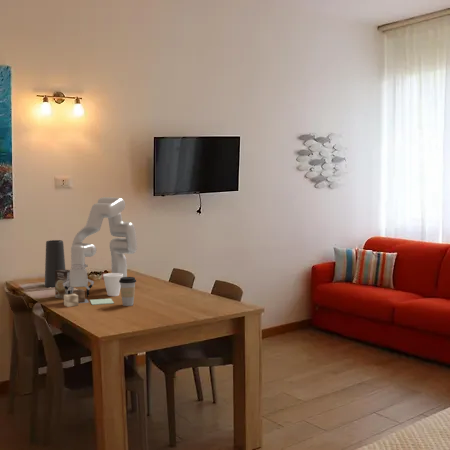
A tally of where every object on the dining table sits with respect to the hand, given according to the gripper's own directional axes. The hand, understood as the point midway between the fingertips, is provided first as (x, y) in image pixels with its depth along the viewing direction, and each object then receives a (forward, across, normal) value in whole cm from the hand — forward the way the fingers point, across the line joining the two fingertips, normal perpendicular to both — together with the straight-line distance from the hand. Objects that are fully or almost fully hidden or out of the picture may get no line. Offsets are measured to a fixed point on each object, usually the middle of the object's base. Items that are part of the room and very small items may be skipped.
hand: (78, 296), depth 343 cm
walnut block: (+2, 0, 0) cm, 3 cm away
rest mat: (+3, -12, +6) cm, 14 cm away
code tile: (+3, 0, 0) cm, 3 cm away
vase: (+2, +10, -54) cm, 55 cm away
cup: (+3, -21, -12) cm, 25 cm away
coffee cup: (+3, -25, +17) cm, 30 cm away
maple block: (+3, +5, +9) cm, 10 cm away
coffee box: (+3, +7, -14) cm, 16 cm away
